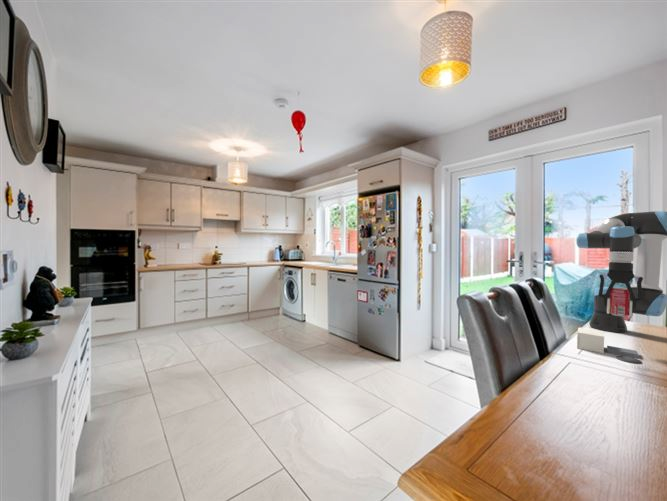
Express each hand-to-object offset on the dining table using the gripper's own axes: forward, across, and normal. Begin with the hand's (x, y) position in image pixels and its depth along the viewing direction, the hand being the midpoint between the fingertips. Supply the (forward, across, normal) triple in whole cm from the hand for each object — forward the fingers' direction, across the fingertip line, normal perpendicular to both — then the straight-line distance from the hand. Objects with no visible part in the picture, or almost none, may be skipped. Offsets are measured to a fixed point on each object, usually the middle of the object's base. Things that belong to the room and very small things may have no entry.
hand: (618, 314), depth 126 cm
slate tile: (+16, +1, -6) cm, 17 cm away
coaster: (+15, +2, -15) cm, 22 cm away
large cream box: (+15, -9, -7) cm, 19 cm away
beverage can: (+1, 0, 0) cm, 1 cm away
